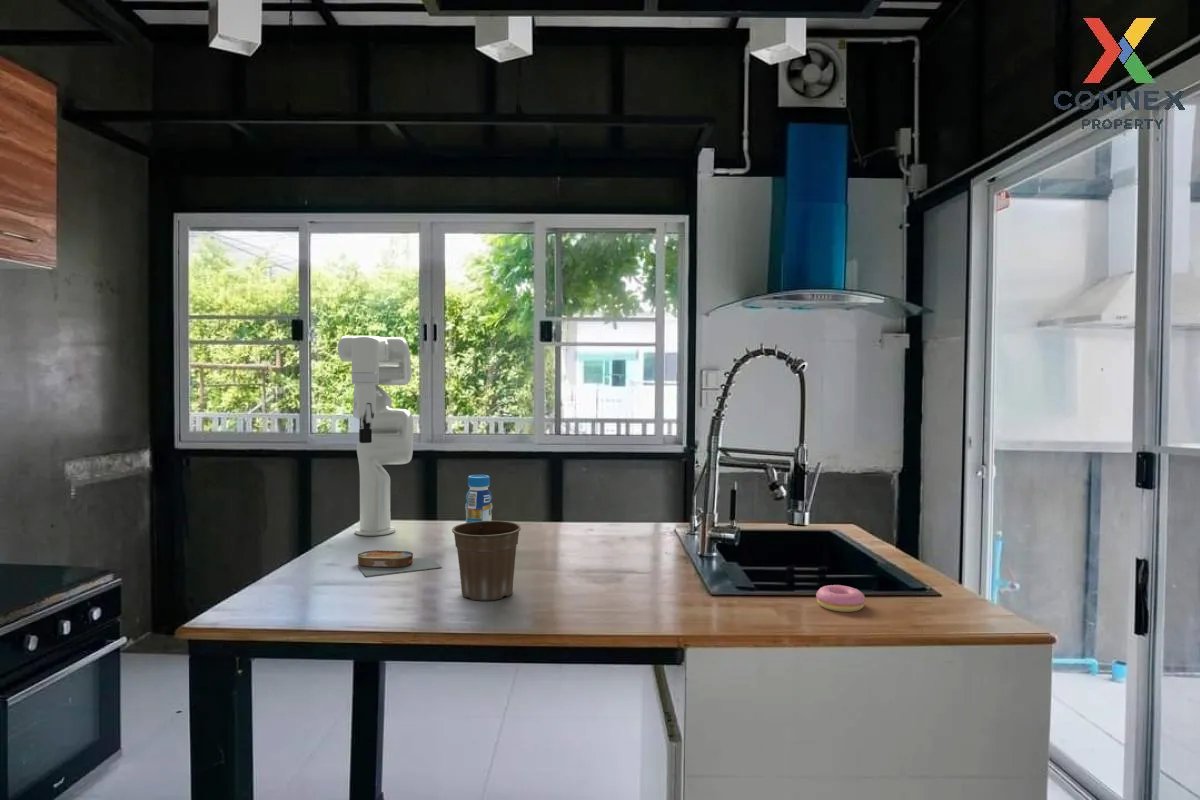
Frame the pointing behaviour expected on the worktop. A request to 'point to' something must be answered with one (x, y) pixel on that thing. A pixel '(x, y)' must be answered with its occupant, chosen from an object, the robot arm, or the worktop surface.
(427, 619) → the worktop surface
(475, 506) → the beverage bottle
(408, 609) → the worktop surface
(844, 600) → the doughnut
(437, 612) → the worktop surface
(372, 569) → the mat
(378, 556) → the tin
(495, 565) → the plant pot
